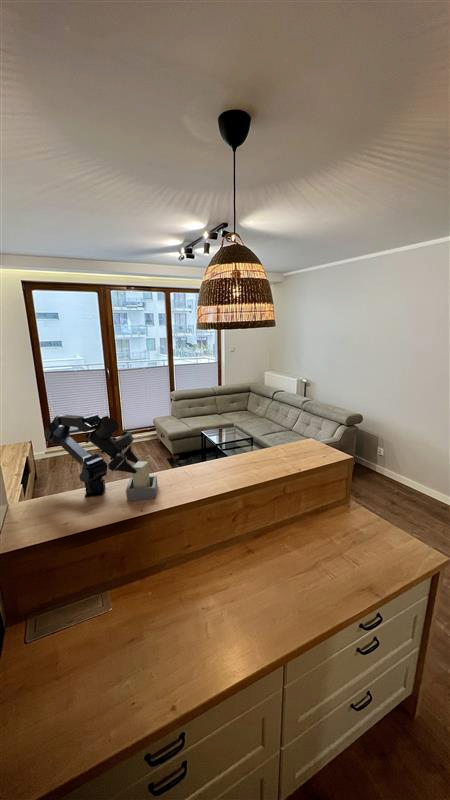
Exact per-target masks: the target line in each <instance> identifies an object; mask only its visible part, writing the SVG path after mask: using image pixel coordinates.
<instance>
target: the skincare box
mask: <svg viewBox="0 0 450 800" xmlns="http://www.w3.org/2000/svg"><path fill="white" fill-rule="evenodd" d="M132 466H133V467H134V468H135V469H136V471H137V472H136V473H135V474H134V473H131V474H132V478H133V486H134V488H143V487H150V478H149V476H150V470H149V469H150V468H149V461H147V460H146V461H144V460H143V461H140V460H139V461H138V462H137V463H134V464H133V465H132Z"/></svg>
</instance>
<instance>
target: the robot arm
mask: <svg viewBox="0 0 450 800" xmlns="http://www.w3.org/2000/svg"><path fill="white" fill-rule="evenodd" d="M71 427H72V428H77V430H78V431H80V432H82V433H87V432H89V431H91V432H89V433H87V434H85V436H84V439H85V444H88V443H89V442H90V443H91V444H92V445H93V446H95V447H96V448H98V449H99V450H100V453H101V454H106V455H107V456H108V457H110V458H109V462H108V464H107V462H106V460H104V458H103V457H101V456H100V455H99V453H95V454H92V455H91V454H90V453H89V452H88V451H87V450H86V449H84V448H83V447H82V446H81V445H80V444H79V443H78V442H77V441H76V440H75V439H74V438H72V437H71V435H70V430H71ZM118 430H119V423H118V421H116V420H115V419H113V418H111V417H109V415H105V416H102V417H101V416H100V415H99V414H98V413H95V412H94V413H91V414H87V415H74V414H66V413H64V414H60V415H56V416H55V417H54V418H53V420H52V422H50V423H49V424H48V425H47V426H46V428H45V431H44V438H45V439H46V440H47V441H48V442H49V443H50V444H52V445H57V446H60V447H61V448H62V449H63V450H64V451H66V453H68V454H69V456H71V457H72V458H73V459H74V460H75V461H77V463H78V464H79V465H80V467H81V472H80V474H79V475H78V478H79V480H80V482H83V483H84V487H85V488H86V489H85V495H84V497H85V498H88V497H90V498H91V497H99V496H100V497H101V496H103V494H104V493H105V491H106V482H105V481H106V480H105V479H104V476H107V473H108V470H110V471H111V472H117V471H118V472H123V473H130V474H132V473H134V474H135V473H136V472H137V471H136V469H135V468H134V467H133V465H132V464H131V463H130V462H132V463H134V464H136V463H137V462H138V461H140V459H139V458H138V456H136V455H135V453H134V451H133V449H132V447H133V446H132V443H133V442H134V440H135V438H134V435H133V433H132V432H131V431H128V430H126V429H125V430H122V432H121V435H120V436H119V437H115V436H113V435H114V434H115V433H116V432H118ZM112 436H113V437H112ZM129 461H130V462H129Z"/></svg>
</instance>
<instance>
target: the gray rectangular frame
mask: <svg viewBox="0 0 450 800" xmlns="http://www.w3.org/2000/svg"><path fill="white" fill-rule="evenodd" d="M149 478H150V487H143V488H134V486H133V477H130V478H129V480H128V483H127V486H126V489H125V493H126V494H125V495H126V502H133V501H134V502H135V501H143V500H144V501H146V500H154V499H156V498H157V497H156V496H157V492H158V491H157V490H158V476H157V475H149Z"/></svg>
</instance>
